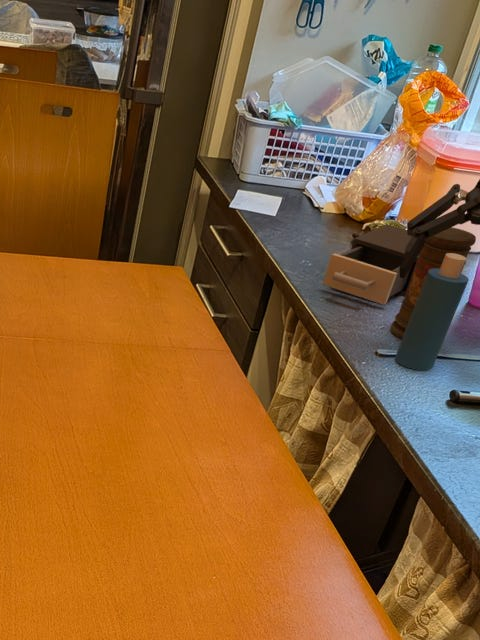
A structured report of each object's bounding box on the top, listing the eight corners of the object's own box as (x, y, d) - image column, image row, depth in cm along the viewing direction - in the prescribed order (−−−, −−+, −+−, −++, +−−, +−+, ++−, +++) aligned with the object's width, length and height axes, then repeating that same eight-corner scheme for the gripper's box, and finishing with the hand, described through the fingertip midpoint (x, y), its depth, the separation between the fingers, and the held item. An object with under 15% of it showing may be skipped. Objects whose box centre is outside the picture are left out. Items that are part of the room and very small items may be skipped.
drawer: (375, 309, 177) (386, 278, 173) (313, 289, 183) (322, 258, 179) (414, 287, 189) (425, 258, 185) (354, 269, 195) (364, 239, 191)
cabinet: (407, 298, 187) (422, 258, 182) (341, 276, 193) (354, 238, 188) (437, 280, 197) (452, 242, 192) (374, 261, 203) (386, 224, 198)
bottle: (438, 364, 161) (482, 258, 150) (424, 373, 158) (468, 266, 146) (403, 351, 164) (443, 247, 153) (389, 361, 160) (429, 254, 149)
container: (398, 321, 176) (432, 221, 164) (445, 334, 172) (484, 233, 160) (383, 334, 170) (417, 232, 158) (432, 348, 166) (470, 244, 155)
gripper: (587, 207, 148) (516, 321, 148) (435, 170, 159) (370, 276, 159) (595, 176, 141) (521, 295, 141) (436, 139, 152) (368, 250, 153)
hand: (441, 285), depth 150 cm, fingers open, 13 cm apart
